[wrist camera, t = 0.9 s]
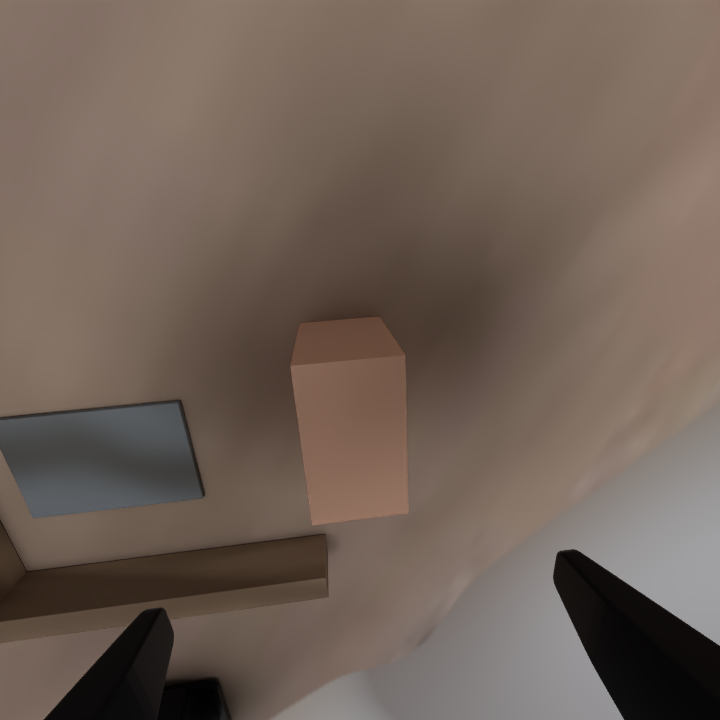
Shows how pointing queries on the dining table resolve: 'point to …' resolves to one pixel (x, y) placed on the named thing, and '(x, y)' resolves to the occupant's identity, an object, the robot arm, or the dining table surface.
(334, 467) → the block
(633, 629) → the robot arm
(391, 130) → the dining table surface
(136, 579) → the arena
